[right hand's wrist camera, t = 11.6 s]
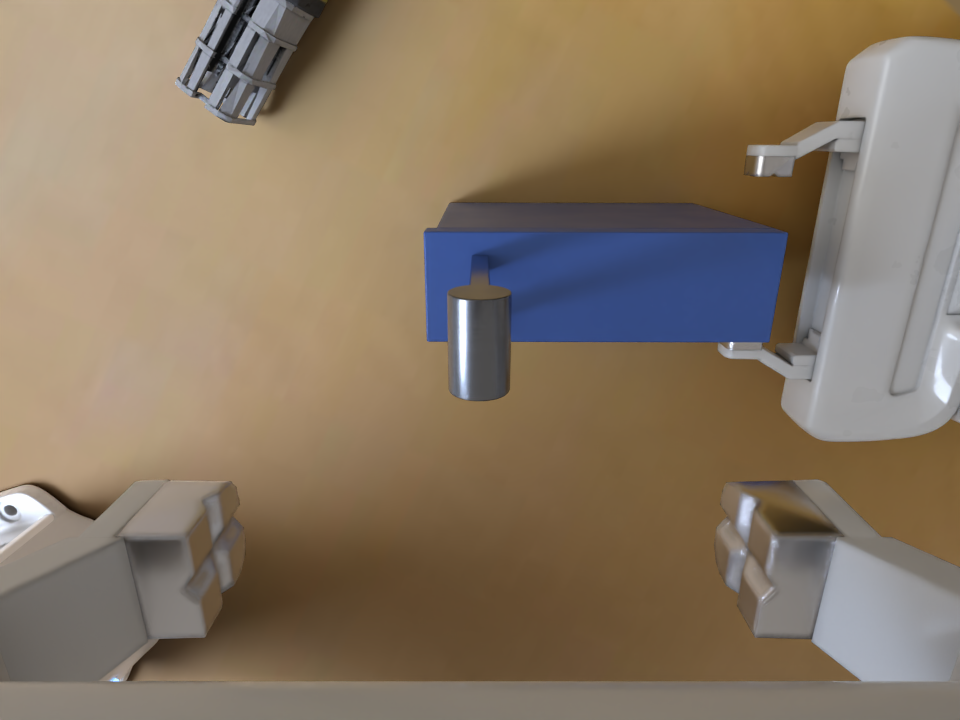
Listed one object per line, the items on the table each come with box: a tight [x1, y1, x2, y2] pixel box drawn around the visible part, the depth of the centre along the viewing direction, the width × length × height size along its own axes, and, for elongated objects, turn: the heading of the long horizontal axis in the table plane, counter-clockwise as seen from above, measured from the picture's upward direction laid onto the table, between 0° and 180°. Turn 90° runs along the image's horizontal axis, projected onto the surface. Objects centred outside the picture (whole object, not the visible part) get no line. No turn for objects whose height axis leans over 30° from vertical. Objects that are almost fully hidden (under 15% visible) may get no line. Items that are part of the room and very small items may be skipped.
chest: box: [437, 203, 775, 229], centre depth 32 cm, size 14×5×11 cm, turn 90°
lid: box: [424, 228, 788, 401], centre depth 22 cm, size 15×5×9 cm, turn 90°
